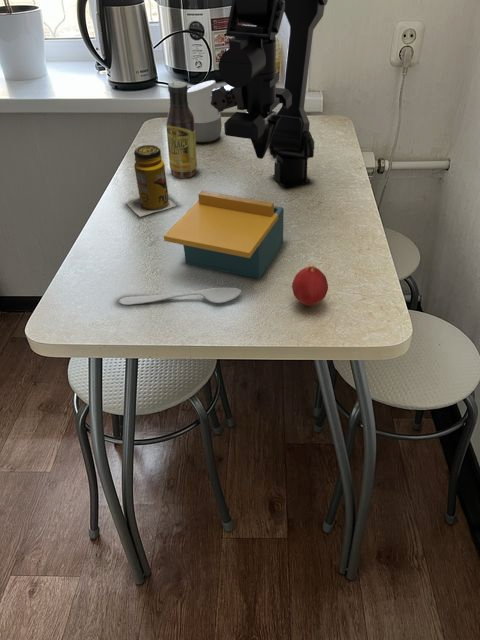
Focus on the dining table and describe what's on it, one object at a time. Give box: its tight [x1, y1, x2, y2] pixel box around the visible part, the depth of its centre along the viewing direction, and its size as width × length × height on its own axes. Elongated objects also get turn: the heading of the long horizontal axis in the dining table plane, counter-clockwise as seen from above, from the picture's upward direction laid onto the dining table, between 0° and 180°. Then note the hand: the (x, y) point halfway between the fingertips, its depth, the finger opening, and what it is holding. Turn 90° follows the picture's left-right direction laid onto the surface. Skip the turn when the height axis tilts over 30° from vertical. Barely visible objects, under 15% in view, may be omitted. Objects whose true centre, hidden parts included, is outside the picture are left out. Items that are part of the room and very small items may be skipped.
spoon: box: [118, 287, 242, 306], centre depth 98 cm, size 4×21×2 cm, turn 92°
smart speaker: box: [187, 79, 223, 144], centre depth 146 cm, size 10×9×14 cm
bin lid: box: [163, 190, 278, 258], centre depth 100 cm, size 14×16×3 cm
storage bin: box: [183, 205, 285, 280], centre depth 106 cm, size 13×15×8 cm
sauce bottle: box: [165, 80, 198, 179], centre depth 128 cm, size 7×6×20 cm
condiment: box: [125, 144, 177, 218], centre depth 120 cm, size 7×8×12 cm
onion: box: [291, 264, 329, 307], centre depth 94 cm, size 6×6×8 cm
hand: (260, 157), depth 110 cm, fingers closed
